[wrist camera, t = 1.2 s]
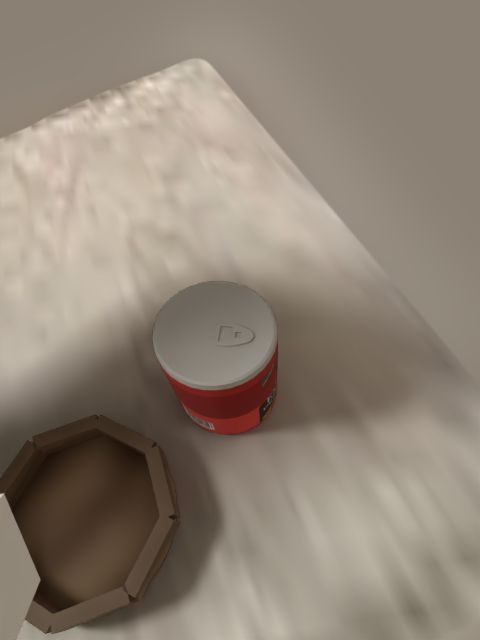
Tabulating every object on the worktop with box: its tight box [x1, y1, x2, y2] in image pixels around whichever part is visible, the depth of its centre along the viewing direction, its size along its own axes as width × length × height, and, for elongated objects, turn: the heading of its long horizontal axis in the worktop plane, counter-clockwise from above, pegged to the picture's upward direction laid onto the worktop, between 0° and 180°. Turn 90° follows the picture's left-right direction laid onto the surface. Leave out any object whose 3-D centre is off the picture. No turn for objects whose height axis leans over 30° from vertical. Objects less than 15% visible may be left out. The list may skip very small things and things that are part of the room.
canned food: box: [152, 281, 278, 434], centre depth 32 cm, size 8×8×11 cm
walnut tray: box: [0, 415, 180, 634], centre depth 31 cm, size 13×13×3 cm
